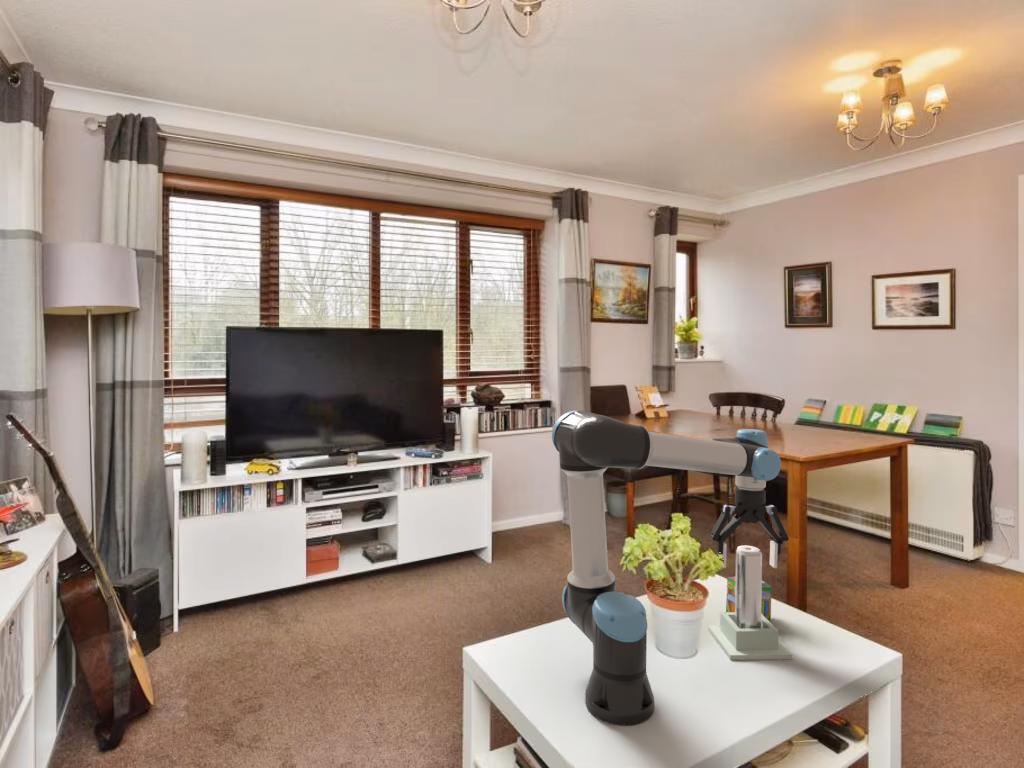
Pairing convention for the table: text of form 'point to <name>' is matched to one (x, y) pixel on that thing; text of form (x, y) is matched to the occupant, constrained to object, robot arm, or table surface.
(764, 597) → the chalk box
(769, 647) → the socket block
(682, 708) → the table surface
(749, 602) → the silver metal bar
